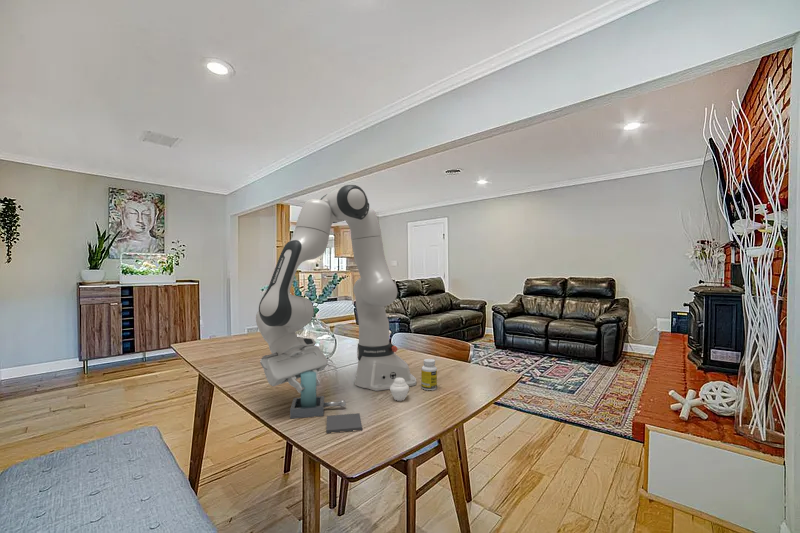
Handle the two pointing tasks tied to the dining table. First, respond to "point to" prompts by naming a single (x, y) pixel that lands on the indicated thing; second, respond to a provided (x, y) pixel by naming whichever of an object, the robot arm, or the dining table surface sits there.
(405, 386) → the muffin
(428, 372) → the supplement bottle
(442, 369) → the dining table surface
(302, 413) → the socket
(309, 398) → the teal peg
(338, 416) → the rubber mat
